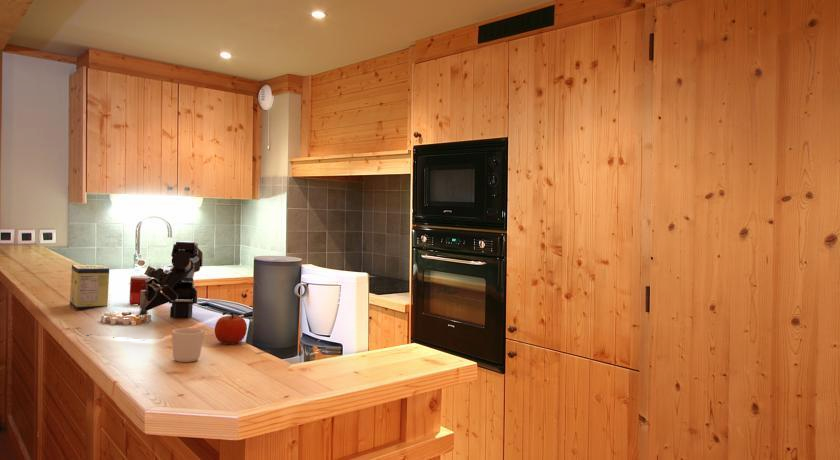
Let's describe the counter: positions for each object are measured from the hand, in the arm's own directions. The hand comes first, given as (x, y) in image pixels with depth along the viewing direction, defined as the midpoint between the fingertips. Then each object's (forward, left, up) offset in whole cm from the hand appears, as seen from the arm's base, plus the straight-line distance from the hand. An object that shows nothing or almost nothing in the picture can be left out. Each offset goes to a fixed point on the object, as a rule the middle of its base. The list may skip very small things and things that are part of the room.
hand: (142, 307), depth 197 cm
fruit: (-37, +16, -6) cm, 41 cm away
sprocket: (+5, +1, -5) cm, 7 cm away
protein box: (+34, -23, -6) cm, 41 cm away
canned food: (+22, -38, -6) cm, 44 cm away
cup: (-34, +38, -6) cm, 52 cm away
